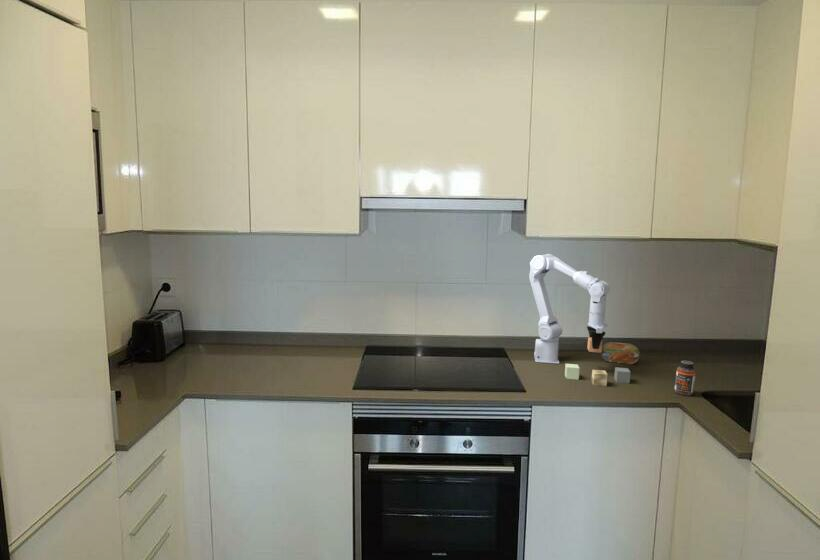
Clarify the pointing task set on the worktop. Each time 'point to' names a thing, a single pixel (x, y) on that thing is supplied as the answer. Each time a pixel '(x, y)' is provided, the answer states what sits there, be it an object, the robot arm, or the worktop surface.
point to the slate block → (622, 375)
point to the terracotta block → (592, 347)
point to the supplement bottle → (685, 378)
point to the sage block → (572, 371)
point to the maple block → (599, 377)
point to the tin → (620, 353)
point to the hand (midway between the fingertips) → (594, 346)
